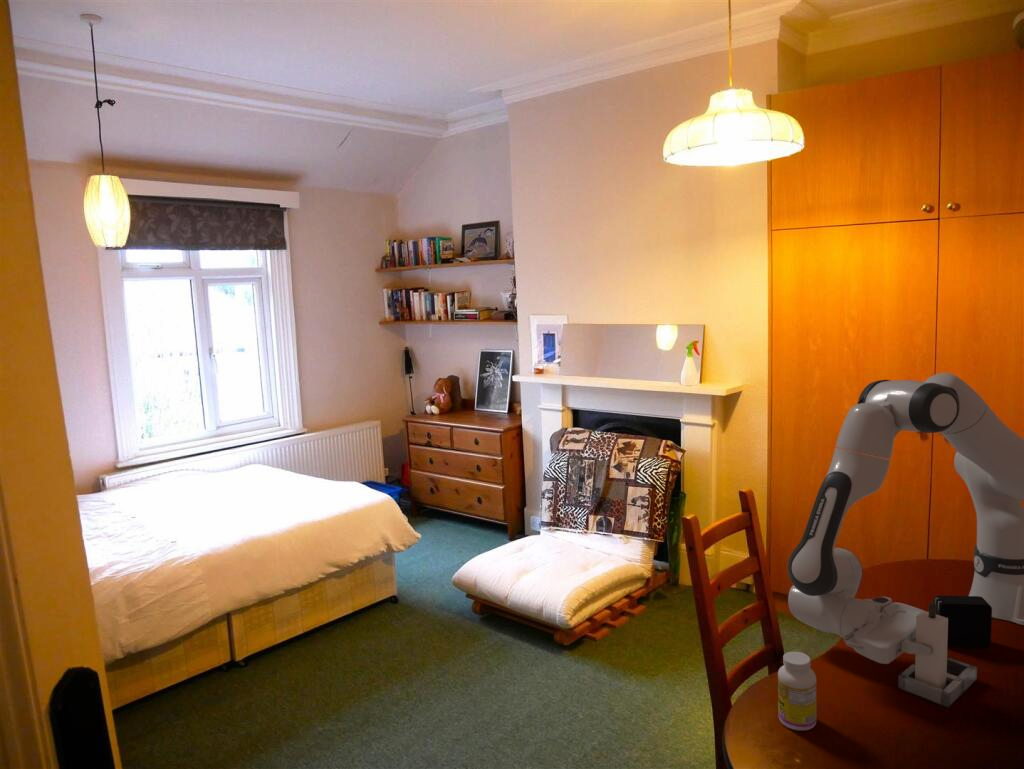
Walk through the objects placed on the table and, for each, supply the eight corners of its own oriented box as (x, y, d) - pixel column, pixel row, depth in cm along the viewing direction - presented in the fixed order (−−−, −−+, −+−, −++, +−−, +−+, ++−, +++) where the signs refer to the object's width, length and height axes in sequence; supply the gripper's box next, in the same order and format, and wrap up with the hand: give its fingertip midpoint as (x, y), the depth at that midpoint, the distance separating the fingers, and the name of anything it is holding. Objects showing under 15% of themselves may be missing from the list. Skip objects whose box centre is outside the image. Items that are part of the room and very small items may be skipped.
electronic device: (990, 648, 157) (992, 605, 155) (939, 647, 159) (940, 603, 157) (982, 639, 161) (984, 596, 159) (932, 637, 163) (933, 595, 161)
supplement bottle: (778, 708, 141) (778, 646, 139) (816, 713, 139) (815, 650, 137) (777, 729, 135) (777, 664, 133) (816, 735, 132) (816, 669, 130)
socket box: (898, 688, 145) (898, 675, 144) (928, 663, 153) (928, 650, 152) (947, 708, 138) (948, 694, 137) (976, 680, 146) (976, 667, 145)
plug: (914, 682, 144) (916, 601, 141) (921, 676, 146) (923, 596, 143) (939, 691, 140) (941, 608, 138) (946, 685, 142) (948, 603, 139)
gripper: (839, 626, 145) (912, 652, 134) (888, 593, 157) (958, 614, 147) (839, 656, 146) (911, 683, 135) (887, 620, 158) (957, 643, 148)
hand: (936, 647), depth 141 cm, fingers closed on plug, 3 cm apart
